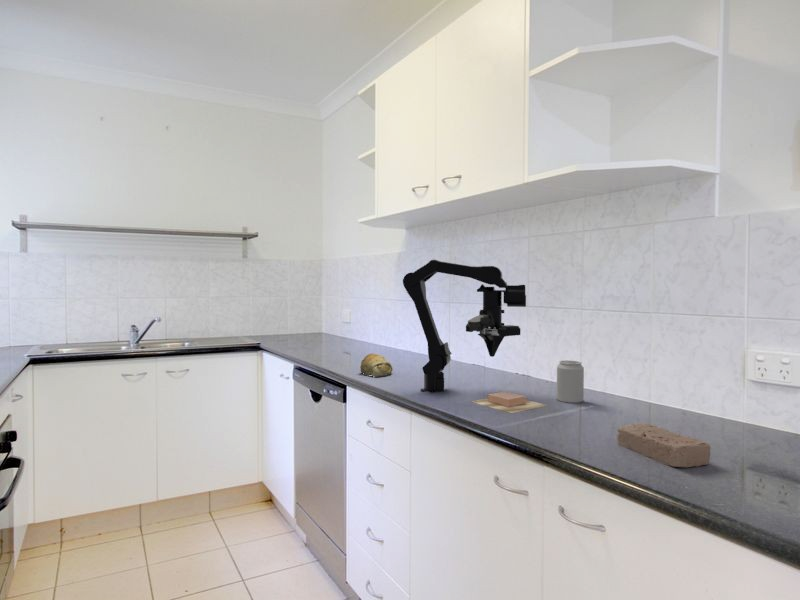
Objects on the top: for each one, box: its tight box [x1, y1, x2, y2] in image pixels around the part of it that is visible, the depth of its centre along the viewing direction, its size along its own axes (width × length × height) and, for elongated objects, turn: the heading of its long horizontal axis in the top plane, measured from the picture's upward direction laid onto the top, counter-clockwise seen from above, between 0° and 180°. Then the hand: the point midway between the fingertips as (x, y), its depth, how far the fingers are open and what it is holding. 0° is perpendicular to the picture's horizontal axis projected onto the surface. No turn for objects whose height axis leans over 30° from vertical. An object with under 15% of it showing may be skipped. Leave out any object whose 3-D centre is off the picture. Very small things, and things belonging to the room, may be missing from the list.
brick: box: [616, 422, 711, 468], centre depth 102 cm, size 17×8×5 cm, turn 17°
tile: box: [487, 391, 527, 407], centre depth 143 cm, size 2×7×8 cm
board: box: [470, 397, 550, 414], centre depth 142 cm, size 16×15×1 cm
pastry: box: [360, 353, 393, 378], centre depth 193 cm, size 14×12×8 cm
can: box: [556, 360, 585, 404], centre depth 146 cm, size 8×8×12 cm
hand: (491, 356), depth 156 cm, fingers closed
